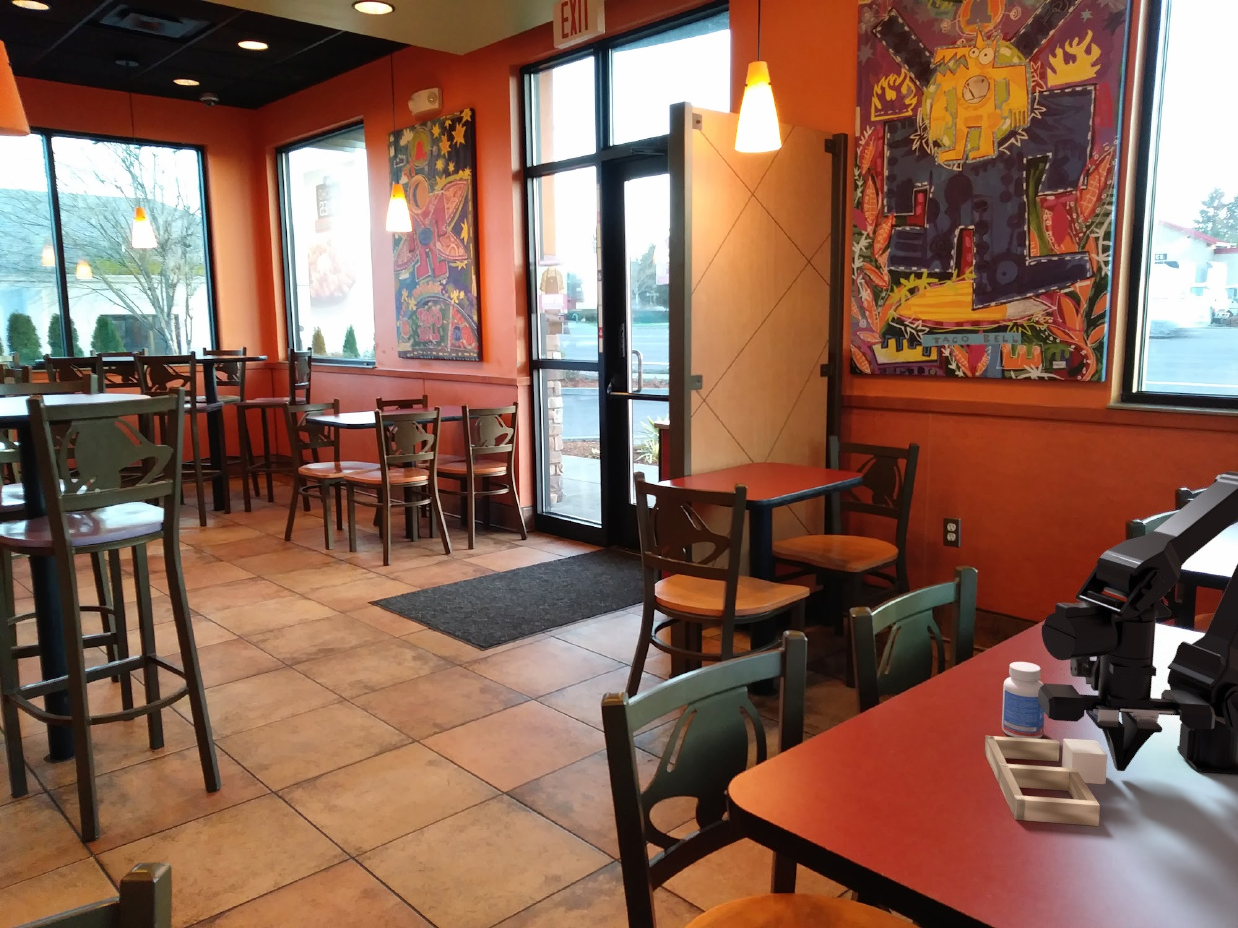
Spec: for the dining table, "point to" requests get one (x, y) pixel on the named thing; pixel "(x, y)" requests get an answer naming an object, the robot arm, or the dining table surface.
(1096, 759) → the cream block
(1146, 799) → the dining table surface
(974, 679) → the dining table surface
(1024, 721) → the pill bottle
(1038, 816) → the caddy
